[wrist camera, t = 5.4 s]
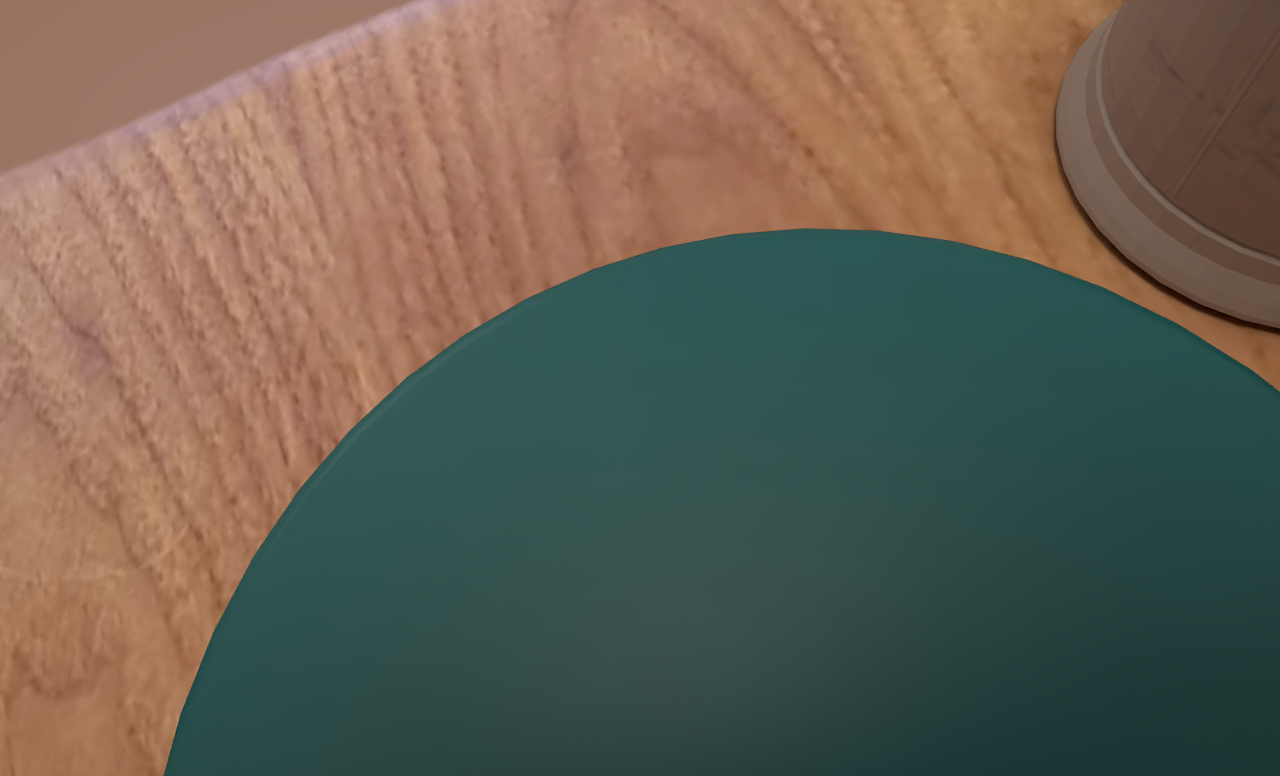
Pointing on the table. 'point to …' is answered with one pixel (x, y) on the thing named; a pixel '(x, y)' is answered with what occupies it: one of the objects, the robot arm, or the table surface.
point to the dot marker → (776, 537)
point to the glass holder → (1183, 146)
